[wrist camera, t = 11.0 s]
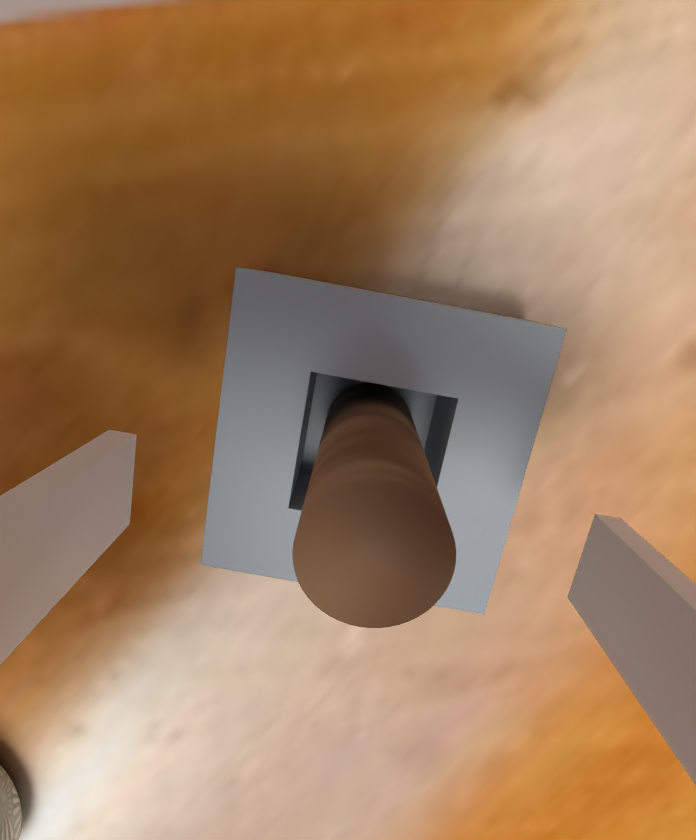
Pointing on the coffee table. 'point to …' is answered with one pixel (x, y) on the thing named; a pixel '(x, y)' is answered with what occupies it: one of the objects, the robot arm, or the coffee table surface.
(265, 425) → the socket
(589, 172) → the coffee table surface
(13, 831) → the planter
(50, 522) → the robot arm
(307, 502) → the dowel
